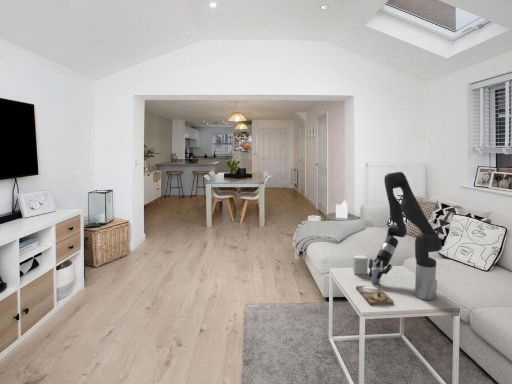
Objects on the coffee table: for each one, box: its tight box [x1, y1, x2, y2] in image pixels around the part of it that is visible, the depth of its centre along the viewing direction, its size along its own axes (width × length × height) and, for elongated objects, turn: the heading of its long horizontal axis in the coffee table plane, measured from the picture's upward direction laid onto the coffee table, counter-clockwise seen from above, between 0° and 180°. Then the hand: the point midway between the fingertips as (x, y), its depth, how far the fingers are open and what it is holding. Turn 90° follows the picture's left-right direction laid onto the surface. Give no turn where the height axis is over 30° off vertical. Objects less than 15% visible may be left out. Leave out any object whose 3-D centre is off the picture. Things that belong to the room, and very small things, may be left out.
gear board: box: [355, 285, 394, 306], centre depth 173 cm, size 20×12×5 cm, turn 2°
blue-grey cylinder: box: [371, 267, 381, 286], centre depth 190 cm, size 4×4×9 cm
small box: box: [352, 255, 369, 275], centre depth 207 cm, size 8×6×10 cm
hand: (373, 277), depth 189 cm, fingers closed on blue-grey cylinder, 4 cm apart
